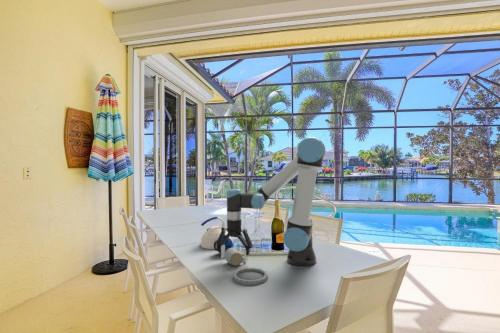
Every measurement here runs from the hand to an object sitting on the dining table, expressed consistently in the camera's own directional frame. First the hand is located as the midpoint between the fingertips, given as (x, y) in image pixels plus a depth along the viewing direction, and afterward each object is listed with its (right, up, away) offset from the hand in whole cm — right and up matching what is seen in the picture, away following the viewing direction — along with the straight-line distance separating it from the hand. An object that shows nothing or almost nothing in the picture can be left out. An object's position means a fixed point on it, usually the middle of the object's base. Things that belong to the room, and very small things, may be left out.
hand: (234, 259), depth 145 cm
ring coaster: (+8, -2, -18) cm, 20 cm away
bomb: (-7, -2, +15) cm, 17 cm away
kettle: (-13, -2, +35) cm, 37 cm away
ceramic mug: (+1, -3, 0) cm, 3 cm away
